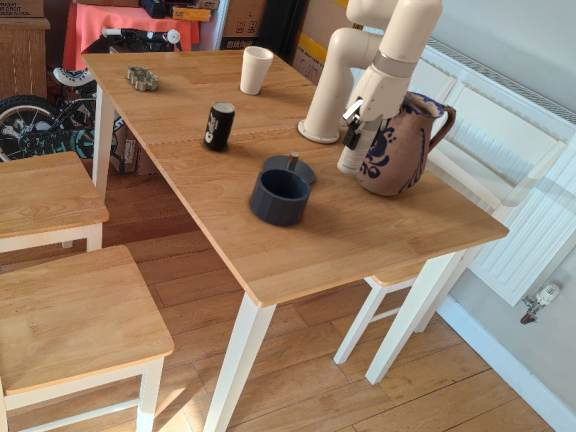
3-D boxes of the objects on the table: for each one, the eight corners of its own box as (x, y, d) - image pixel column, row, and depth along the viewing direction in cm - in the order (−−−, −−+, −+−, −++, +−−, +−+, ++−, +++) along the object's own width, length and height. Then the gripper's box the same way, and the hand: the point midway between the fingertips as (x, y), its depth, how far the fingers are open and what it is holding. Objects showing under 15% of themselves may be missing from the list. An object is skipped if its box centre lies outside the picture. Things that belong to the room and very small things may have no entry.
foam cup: (245, 80, 175) (254, 44, 167) (268, 91, 172) (278, 54, 164) (230, 88, 169) (239, 50, 160) (253, 99, 165) (264, 61, 157)
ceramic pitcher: (332, 168, 142) (367, 85, 126) (392, 163, 149) (433, 84, 133) (369, 209, 130) (412, 122, 114) (432, 201, 137) (481, 120, 121)
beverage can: (224, 154, 138) (234, 115, 130) (200, 148, 138) (209, 108, 130) (228, 142, 143) (238, 104, 135) (205, 136, 143) (213, 97, 135)
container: (340, 159, 114) (366, 99, 104) (360, 168, 113) (388, 108, 103) (334, 169, 111) (360, 107, 101) (354, 178, 109) (383, 117, 100)
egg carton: (158, 91, 159) (160, 78, 156) (135, 92, 156) (137, 79, 153) (147, 75, 166) (148, 63, 163) (125, 75, 163) (126, 63, 160)
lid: (294, 155, 143) (301, 137, 139) (323, 184, 134) (331, 165, 131) (253, 161, 137) (259, 142, 133) (281, 192, 129) (288, 172, 125)
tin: (282, 188, 130) (291, 164, 125) (311, 220, 122) (321, 196, 117) (240, 196, 125) (247, 171, 120) (267, 230, 116) (276, 204, 112)
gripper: (411, 52, 102) (375, 131, 114) (347, 56, 94) (315, 140, 106) (439, 70, 97) (398, 150, 109) (374, 75, 90) (338, 160, 102)
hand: (358, 144), depth 107 cm, fingers closed on container, 4 cm apart
